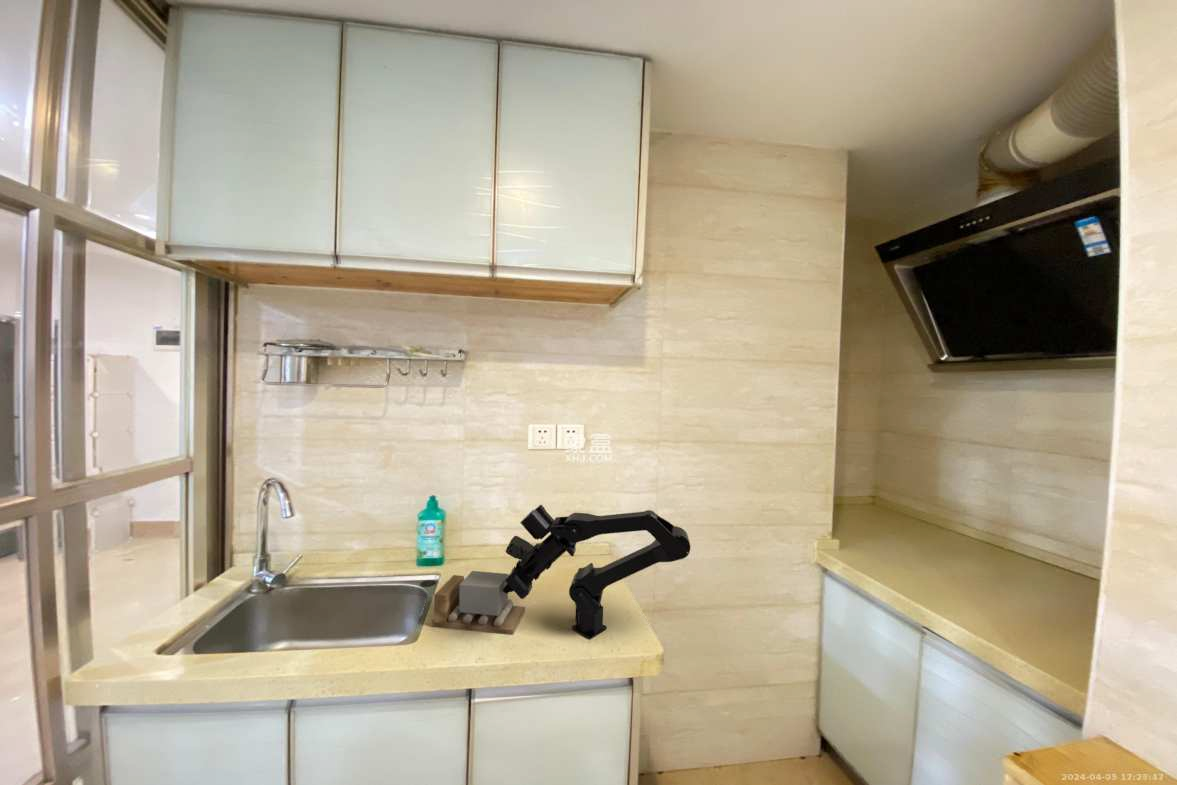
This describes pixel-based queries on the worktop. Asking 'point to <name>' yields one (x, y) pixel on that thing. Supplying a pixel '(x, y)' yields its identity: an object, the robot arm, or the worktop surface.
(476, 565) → the worktop surface
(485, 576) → the gray rectangular block
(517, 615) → the roller bed
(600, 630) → the robot arm
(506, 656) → the worktop surface
